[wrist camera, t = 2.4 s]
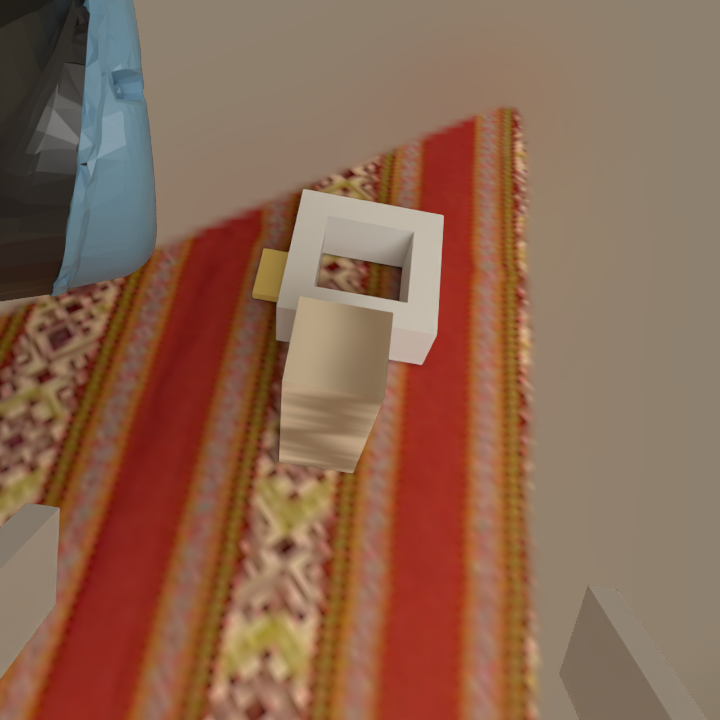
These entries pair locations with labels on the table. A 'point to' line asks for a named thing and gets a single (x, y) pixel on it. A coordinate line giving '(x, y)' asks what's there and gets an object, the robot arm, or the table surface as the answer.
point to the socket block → (363, 242)
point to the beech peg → (333, 383)
